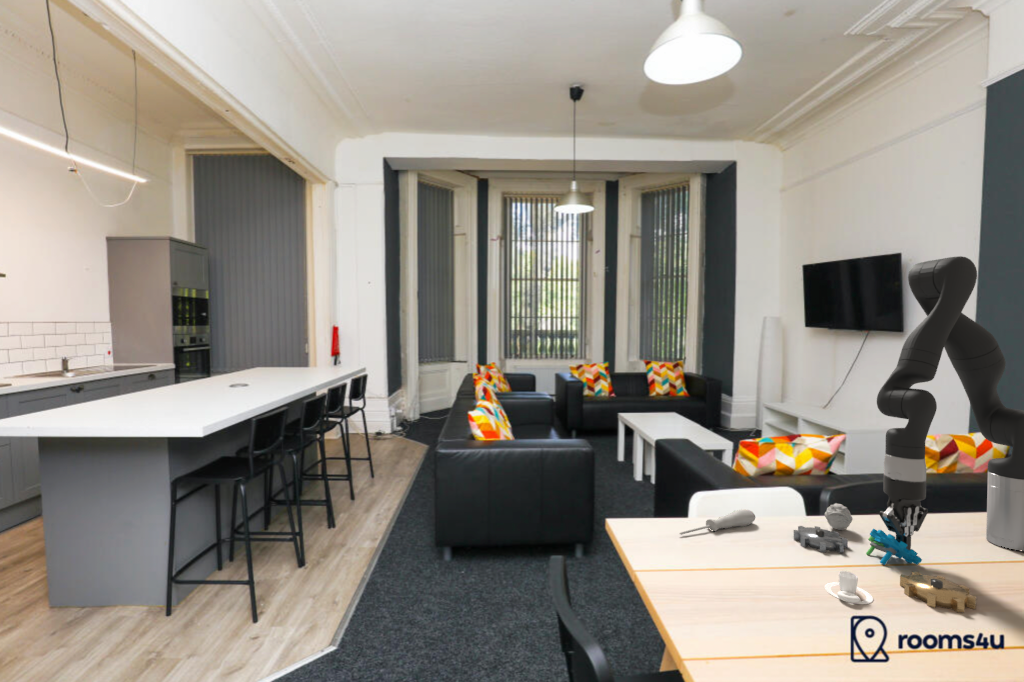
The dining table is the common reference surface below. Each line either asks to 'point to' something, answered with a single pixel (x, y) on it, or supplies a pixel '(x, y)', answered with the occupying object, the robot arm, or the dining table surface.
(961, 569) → the dining table surface
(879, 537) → the gear
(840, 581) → the teacup and saucer
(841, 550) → the gear
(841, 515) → the grey rounded lump
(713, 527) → the screwdriver
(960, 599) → the gear
